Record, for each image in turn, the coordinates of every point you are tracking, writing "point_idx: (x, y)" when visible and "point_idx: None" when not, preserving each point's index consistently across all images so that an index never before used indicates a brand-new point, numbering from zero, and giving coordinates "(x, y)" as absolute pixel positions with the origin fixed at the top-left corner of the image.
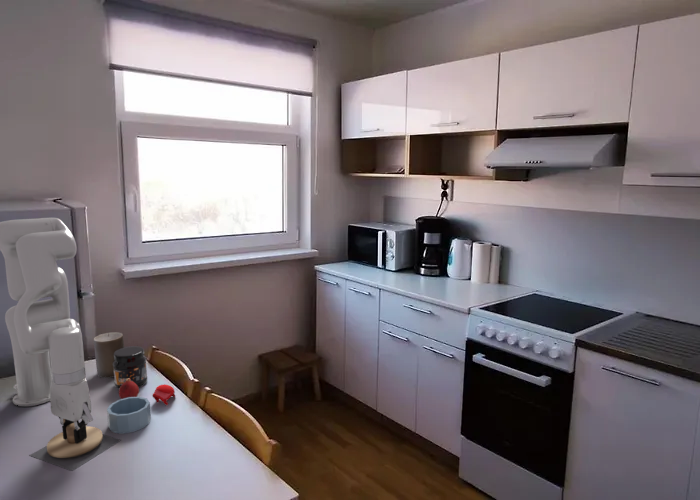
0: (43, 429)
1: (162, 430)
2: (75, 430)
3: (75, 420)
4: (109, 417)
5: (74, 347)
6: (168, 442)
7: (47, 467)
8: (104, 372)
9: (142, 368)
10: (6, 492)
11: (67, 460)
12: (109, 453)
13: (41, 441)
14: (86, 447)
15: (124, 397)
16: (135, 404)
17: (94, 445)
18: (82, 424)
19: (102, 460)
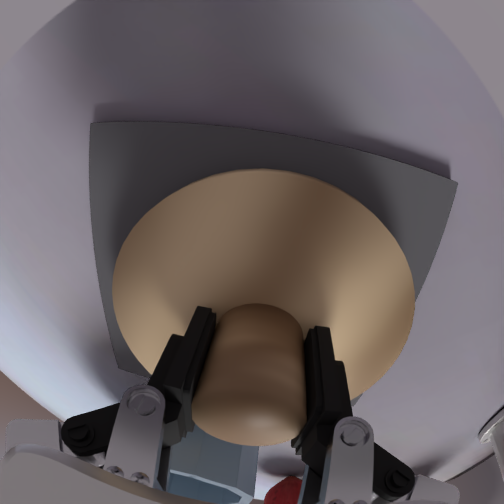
0: (480, 355)
1: (88, 402)
2: (165, 384)
3: (19, 450)
4: (198, 458)
5: None
6: (31, 356)
7: (276, 109)
8: None
9: None
10: None
11: None
12: (89, 296)
13: (464, 303)
14: (125, 288)
15: (287, 493)
16: (208, 484)
17: (119, 314)
18: (76, 421)
19: (70, 249)
